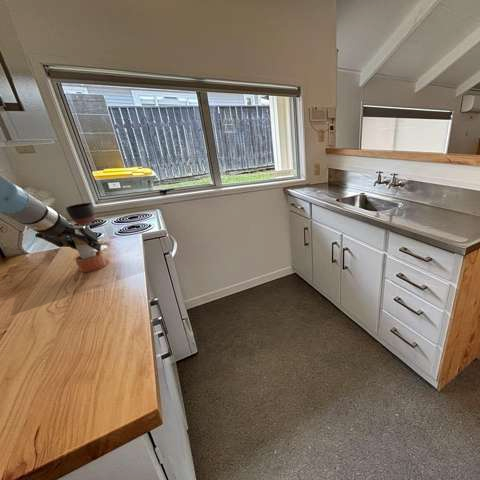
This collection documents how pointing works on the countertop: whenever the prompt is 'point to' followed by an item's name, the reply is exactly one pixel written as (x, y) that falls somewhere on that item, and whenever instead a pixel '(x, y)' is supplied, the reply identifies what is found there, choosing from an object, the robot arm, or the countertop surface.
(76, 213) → the wineglass
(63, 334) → the countertop surface
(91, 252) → the sprinkles bottle
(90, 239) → the robot arm
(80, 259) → the crock
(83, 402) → the countertop surface
